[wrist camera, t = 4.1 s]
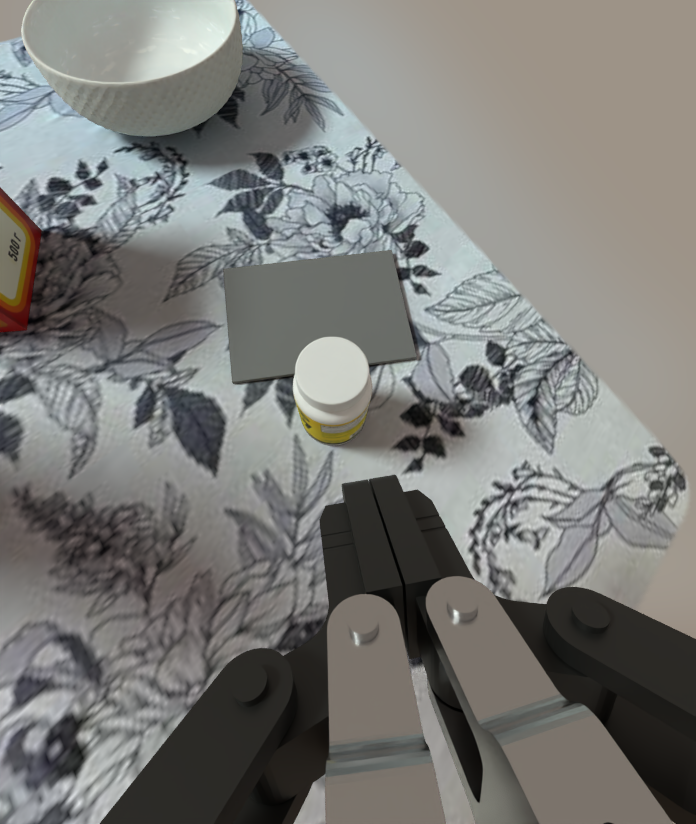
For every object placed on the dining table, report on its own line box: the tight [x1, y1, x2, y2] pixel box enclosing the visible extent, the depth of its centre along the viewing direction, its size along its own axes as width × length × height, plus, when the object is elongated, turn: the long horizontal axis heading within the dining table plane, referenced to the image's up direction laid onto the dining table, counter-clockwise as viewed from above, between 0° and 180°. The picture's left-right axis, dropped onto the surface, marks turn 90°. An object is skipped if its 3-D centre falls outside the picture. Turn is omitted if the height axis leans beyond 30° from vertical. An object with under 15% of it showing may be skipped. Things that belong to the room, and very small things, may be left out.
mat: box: [223, 250, 417, 384], centre depth 31 cm, size 10×14×1 cm
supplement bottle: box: [293, 337, 372, 445], centre depth 25 cm, size 5×5×8 cm
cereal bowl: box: [21, 0, 243, 136], centre depth 35 cm, size 17×17×7 cm
